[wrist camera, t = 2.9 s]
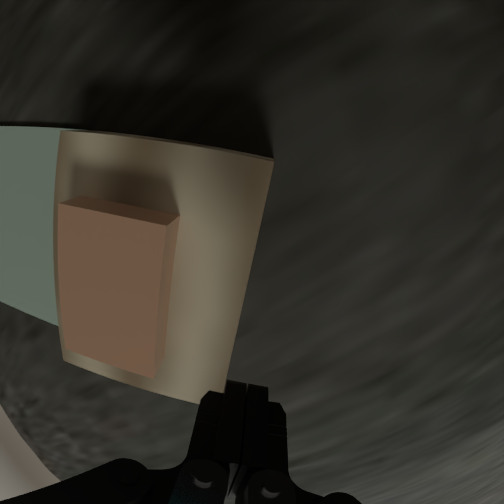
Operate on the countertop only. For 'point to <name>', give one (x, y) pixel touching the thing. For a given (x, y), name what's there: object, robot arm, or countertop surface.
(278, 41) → the countertop surface
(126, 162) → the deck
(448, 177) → the countertop surface
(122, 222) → the tile
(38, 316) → the mat
